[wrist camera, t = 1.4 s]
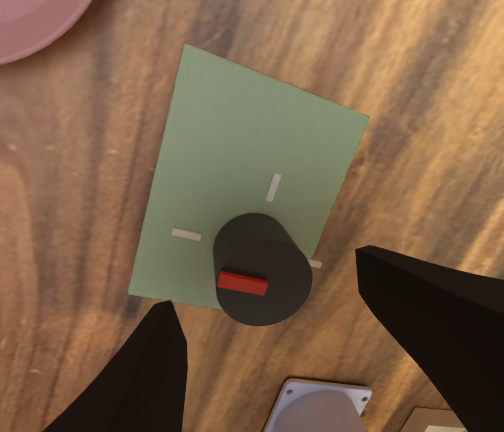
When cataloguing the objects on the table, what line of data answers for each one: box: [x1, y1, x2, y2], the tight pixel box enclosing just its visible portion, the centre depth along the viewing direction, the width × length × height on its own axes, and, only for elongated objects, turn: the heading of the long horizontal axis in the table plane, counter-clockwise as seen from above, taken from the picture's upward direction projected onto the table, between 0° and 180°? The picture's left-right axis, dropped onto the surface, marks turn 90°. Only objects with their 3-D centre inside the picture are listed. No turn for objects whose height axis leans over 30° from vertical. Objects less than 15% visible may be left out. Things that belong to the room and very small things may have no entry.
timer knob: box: [213, 213, 312, 326], centre depth 13 cm, size 4×4×4 cm
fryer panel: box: [127, 43, 370, 320], centre depth 15 cm, size 12×10×3 cm
